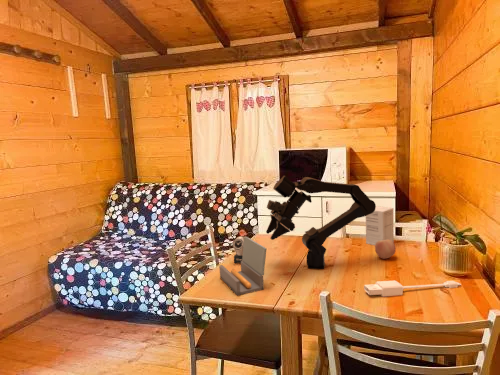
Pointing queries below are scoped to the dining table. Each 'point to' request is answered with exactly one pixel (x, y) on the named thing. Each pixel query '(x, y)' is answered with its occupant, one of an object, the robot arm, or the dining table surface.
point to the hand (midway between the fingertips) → (269, 236)
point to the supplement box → (379, 225)
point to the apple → (385, 248)
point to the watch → (238, 249)
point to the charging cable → (399, 287)
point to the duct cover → (254, 255)
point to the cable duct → (242, 279)
